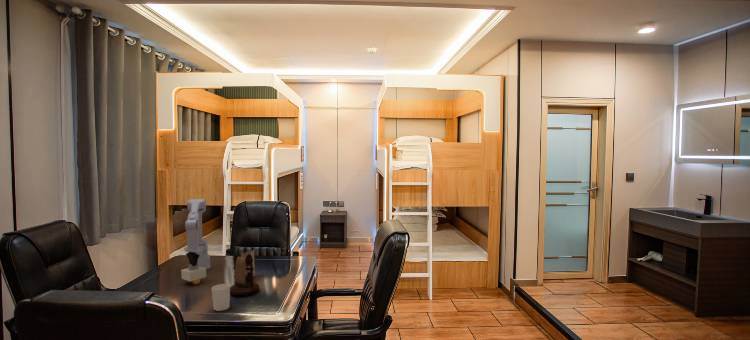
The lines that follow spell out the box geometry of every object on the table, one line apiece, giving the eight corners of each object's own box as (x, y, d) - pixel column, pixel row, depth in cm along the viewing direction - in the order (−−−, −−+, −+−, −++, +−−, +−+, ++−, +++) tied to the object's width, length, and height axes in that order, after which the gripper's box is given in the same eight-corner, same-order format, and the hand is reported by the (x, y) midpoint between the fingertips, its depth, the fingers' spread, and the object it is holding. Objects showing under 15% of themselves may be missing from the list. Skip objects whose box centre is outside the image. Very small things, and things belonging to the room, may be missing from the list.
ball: (202, 277, 205) (201, 284, 206) (198, 274, 207) (197, 281, 208) (195, 279, 202) (194, 286, 202) (191, 276, 204) (190, 283, 204)
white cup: (224, 312, 168) (223, 290, 168) (208, 311, 170) (207, 289, 169) (234, 305, 176) (233, 284, 175) (219, 304, 177) (218, 283, 177)
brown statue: (222, 296, 187) (221, 256, 186) (241, 285, 201) (240, 249, 200) (247, 299, 183) (246, 259, 182) (264, 288, 197) (263, 251, 196)
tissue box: (197, 274, 212) (196, 260, 212) (206, 276, 207) (205, 262, 207) (181, 278, 205) (181, 264, 205) (190, 281, 200) (189, 266, 199)
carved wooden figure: (253, 275, 218) (252, 249, 218) (262, 277, 214) (261, 251, 214) (237, 281, 208) (236, 254, 208) (246, 283, 205) (245, 256, 204)
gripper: (178, 240, 206) (179, 265, 207) (192, 244, 198) (193, 269, 198) (191, 238, 212) (192, 261, 212) (205, 241, 203) (206, 266, 204)
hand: (193, 265), depth 206 cm, fingers closed on tissue box
